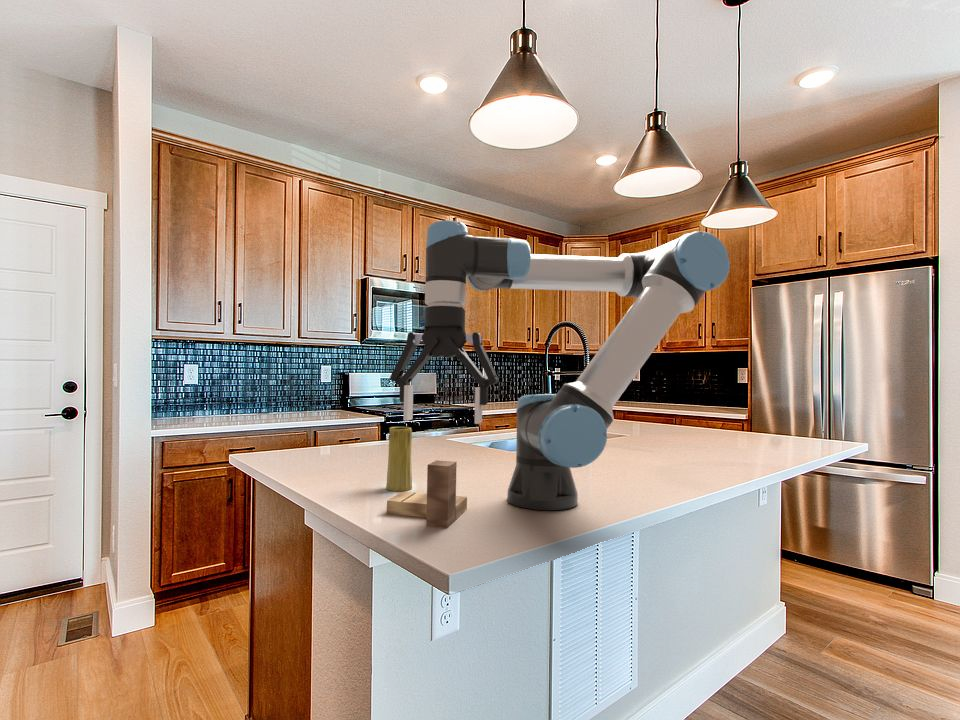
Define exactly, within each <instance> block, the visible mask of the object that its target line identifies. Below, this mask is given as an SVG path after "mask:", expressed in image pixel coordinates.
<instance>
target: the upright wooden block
mask: <svg viewBox="0 0 960 720" xmlns="http://www.w3.org/2000/svg"><path fill="white" fill-rule="evenodd" d="M426 471H427V473H426V475H427V478H426V494H427V511H426V517H425V518H426V519H425V520H426V522H425V526H426V527H429V528H431V527H432V528H441V529H448V528H449V527H450V526H452V525H453V524H454V523H455V522H456V520H455V510H456V496H457V461H451V460H437V459H436V460H434V461H432V462H431V463H429V464H427V470H426Z"/></svg>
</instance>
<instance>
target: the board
mask: <svg viewBox="0 0 960 720" xmlns="http://www.w3.org/2000/svg"><path fill="white" fill-rule="evenodd" d="M467 510H468V496H459V495H456V510H455V521H456V520H458V518H459V517H460V516H461V515H462V514H464V513H465V512H466V511H467ZM426 511H427V493H425V492H424V493H423V492H421V493H420V492H411V491H400V493H397V494H395V495H394V496H392V497H391V498H389V499H387V500H386V514H387V515H398V516H409V517H421V518H426Z"/></svg>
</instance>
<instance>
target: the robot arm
mask: <svg viewBox="0 0 960 720" xmlns="http://www.w3.org/2000/svg"><path fill="white" fill-rule="evenodd" d="M730 268H731V260H730V259H729V253H728V250H727V247H726V246H725V244H724V243H723V242H722V240H720V238H718V237H717V236H716V235H714V234H712V233H710V232H707V231H698V230H697V231H693V232H688V233H684V234H683V235H681V236H679V238H676V239H674V240H671V241H669V242H667V243H665V244H661V245H660V246H657V247H655V248H653V249H650V250H645V251H642V252H635V253H626V252H625V253H622V254H620V255H619V256H618V257H613V256H612V257H608V256H607V257H605V256H585V255H584V256H582V255H560V254H559V255H557V254H538V253H537V254H536V253H535V254H534V253H532V252H531V246H530V244H529V242H528V241H527V240H525V239H517V238H513V237H509V238H507V237H493V236H492V237H491V236H477V235H476V236H475V235H470V234H469V232H468V227H467V226H466V224H464V223H462V222H460V221H455V220H438V221H434V222H432V223H431V224H430V225H429V226H428V228H427V231H426V246H425V291H424V303H425V305H427V307H425V308H424V331H423V333H422V334H421V333H416V332H412V331H409V332H408V333H407V336H406V337H407V338H406V344H405V346H404V348H403V351H402V352H401V354H400V357H398V360H397V362H396V364H395V367H394V368H393V370H392V372H391V374H390V377H389V380H390V381H391V382H395V383H396V384H398V385H399V401H400V402H401V403H403V421H404V422H405V421H412V420H413V418H414V417H413V416H414V413H413V412H414V384H412V385H411V382H412V380H413V379H414V378H415V377H416V376H417V374H418V373H419V372H420V371H421V370H422V369H423V367H424V366H425V365H426V364H427V363H428V362H429V361H430V359H432V358H433V357H435V358H443V357H447V358H454V357H456V358H457V359H458V360H459V361H460V362H461V364H462V365H463V366H464V367H465V369H466V370H467V371H468V373H470V375H471V376H472V378H473V379H474V380H475V381H476V382H477V384H478V385H479V386H477V387H474V389H475V390H474V391H475V392H474V424H475V425H479V424H482V423H483V406H486V405H488V402H489V387H490V386H492V385H495V384H496V385H497V384H498V383H499V377H498V375H497V374H496V371H495V369H494V367H493V364H492V362H491V360H490V358H489V356H488V353H487V351H486V349H485V348H484V344H483V335H482V334H481V333H480V332H479V333H478V332H477V331H476V332H475V331H474V332H473V333H469V334H467V333H466V309H465V308H463V306H465V305H466V299H467V298H466V293H467V291H466V290H467V283H468V284H469V286H470V287H472V288H473V289H474V290H477V291H479V292H485V291H487V292H488V291H490V290H492V289H501V290H502V289H503V290H507V289H508V290H510V289H512V290H513V289H515V290H543V291H545V290H547V291H574V292H575V291H578V292H609V293H611V292H613V293H615V294H617V295H618V297H623V298H624V297H625V298H626V297H627V298H636V299H635V300H634V302H633V303H632V305H631V306H630V307H629V309H628V310H627V311H626V312H625V314H624V315H623V317H622V318H621V319H620V321H619V322H618V324H617V325H616V326H615V327H614V329H613V330H612V332H611V333H610V334H609V336H608V337H607V339H606V340H605V341H604V343H603V344H602V345H601V347H600V348H599V349H598V351H597V352H596V353H595V355H594V356H593V357H592V359H591V360H590V361H589V363H588V364H587V366H586V367H585V368H584V370H583V371H582V372H581V374H580V375H579V377H578V378H577V379H576V380H575V381H573V382H568V383H567V382H566V383H563V385H562V387H561V388H560V389H559V390H558V392H557V393H552V394H551V393H544V394H543V393H542V394H541V393H538V394H527V395H522V396H520V397H519V398H518V401H517V406H516V407H517V408H516V446H515V447H516V451H515V453H516V458H515V459H516V460H515V461H516V462H515V467H514V471H513V473H512V476H511V480H510V483H509V486H508V488H507V498H506V499H507V502H508V503H509V504H510V505H513V506H516V507H519V508H524V509H530V510H537V511H538V510H539V511H561V510H569V509H571V508H574V507H577V506H578V499H579V498H578V496H579V495H578V490H577V487H576V483H575V480H574V476H573V473H572V470H571V468H582V467H586V466H588V465H589V464H592V463H593V462H594V461H596V460H597V459H598V458H599V457H600V456H601V454H602V453H604V452H603V451H604V450H605V448H606V445H607V441H608V436H607V434H608V433H607V431H608V429H609V427H610V426H611V425H612V423H613V421H614V420H615V418H614V412H613V407H614V406H615V405H616V404H617V402H618V401H619V399H620V397H621V396H622V394H623V393H624V392H625V391H626V390H627V388H628V386H629V385H630V384H631V383H632V381H633V380H634V378H635V377H636V375H637V374H638V372H640V370H641V369H642V367H643V366H644V365H645V363H646V361H648V359H649V358H650V356H651V354H652V353H653V352H654V351H655V349H656V348H657V346H658V345H659V344H660V342H661V341H662V340H663V338H664V336H665V335H666V334H667V332H668V331H669V330H670V328H671V327H672V325H673V324H674V323H675V322H676V320H677V318H678V317H679V316H680V314H684V313H685V314H686V313H690V312H692V311H693V310H694V308H696V306H697V305H698V303H699V302H700V301H701V299H703V298H702V297H704V295H705V294H706V292H708V291H713V290H715V289H716V288H718V287H719V286H721V285H722V284H723V283H724V282H725V281H726V280H727V277H728V276H729V273H730ZM467 341H468V343H469V345H471V346H473V349H474V351H475V354H476V355H477V358H478V360H479V362H480V365H481V366H482V368H483V371H484V373H485V375H486V376H487V378H486V376H484V374H483V373H482V372H481V371H480V369H479V368H478V367H477V365H476V364H475V363H474V361H472V359H471V358H470V357H469V355H468V353H467V352H466V351H465V349H464V348H463V347H464V346H465V344H466V343H467ZM421 342H423V344H424V345H425V347H424V348H423V349H422V351H421V352H420V354H419V356H418V357H417V358H416V359H415V360H414V361H413V363H412V364H411V365H410V367H408V366H409V364H410V361H411V359H412V358H413V355H414V353H415V352H416V349H417V347H418V345H420V343H421ZM406 369H407V370H406Z"/></svg>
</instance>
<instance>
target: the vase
mask: <svg viewBox="0 0 960 720" xmlns="http://www.w3.org/2000/svg"><path fill="white" fill-rule="evenodd" d="M412 432H413V429H412V427H409V426H391V427H389V435H388V436H389V437H388V456H387V457H388V459H387V472H386V473H387V474H386V487H385V489H387V491H392V492H408V491H409V490H412V489H413V477H412V475H413V473H412V468H413V467H412V439H413V438H412V436H413V434H412Z"/></svg>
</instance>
